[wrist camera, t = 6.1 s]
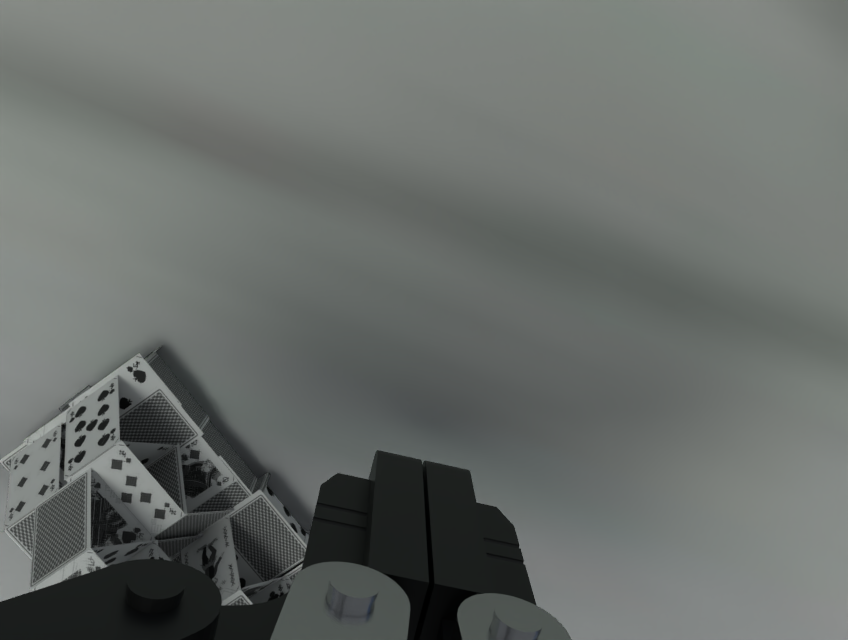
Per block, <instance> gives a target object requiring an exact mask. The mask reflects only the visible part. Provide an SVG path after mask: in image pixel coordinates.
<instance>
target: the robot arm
mask: <svg viewBox="0 0 848 640" xmlns="http://www.w3.org/2000/svg"><path fill="white" fill-rule="evenodd" d="M523 562H524V560H523V556H522V553H521V549H519V542H518V539H517V535H516V532H515V528H514V526H513V525H512V523H511V522H510V521H509V520H508V519H507V518H506V517H505V516H504V515H503V514H502V513H501V511H500V510H499V509H498V508H497V507H494V506H489V505H484V504H480V503H476V499H475V494H474V489H473V484H472V479H471V474H470V471H469V470H466V469H461V468H457V467H452V466H448V465H443V464H439V463H434V462H429V461H424V462H423V464H422V460H420V459H415V458H411V457H406V456H401V455H397V454H392V453H388V452H383V451H379V450H377V451H376V454H375V457H374V460H373V464H372V468H371V472H370V476H369V480H368V479H363V478H358V477H354V476H349V475H344V474H340V473H337V474H336V475H334V476H333V477H332V478H330V479H329V480H327V481H326V482H325V483H323V484H322V485H321V487H320V492H319V496H318V500H317V505H316V509H315V513H314V517H313V522H312V526H311V530H310V534H309V539H308V543H307V547H306V552H305V556H304V560H303V564H302V569H301V571H300V572H299V573H298V574H297V575H296V577H295V578H294V580H293V582H292V585H291V587H290V590H289V592H287V593H286V594H284V595H282V596H281V597H278V598H276V599H273V600H270V601H267V602H263V603H258V604H251V605H221V604H222V598H221V593H220V591H219V588H218V587H217V586H216V584H215V583H214V582H213V581H212V580H211V579H210V578H209V577H208V576H207V575H205V574H204V573H202V572H201V571H199V570H197V569H195V568H193V567H191V566H188V565H185V564H182V563H178V562H174V561H169V560H161V559H138V560H131V561H125V562H121V563H118V564H114V565H111V566H108V567H105V568H102V569H99V570H96V571H93V572H90V573H87V574H84V575H81V576H78V577H75V578H72V579H69V580H66V581H63V582H60V583H57V584H54V585H51V586H48V587H45V588H41V589H38V590H35V591H32V592H29V593H26V594H23V595H20V596H17V597H14V598H11V599H8V600H5V601H2V602H0V640H571V637H570V636H569V634H568V632H567V630H566V629H565V628H564V627H563V625H562V624H561V623H560V622H559V621H558V620H557V619H556V618H554V617H553V616H552V615H551V614H549V613H548V612H546V611H545V610H543V609H542V608H540V607H538V606H536V602H535V599H534V595H533V592H532V588H531V585H530V581H529V577H528V574H527V570H526V567H525V565H524V564H523Z"/></svg>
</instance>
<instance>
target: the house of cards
mask: <svg viewBox="0 0 848 640" xmlns="http://www.w3.org/2000/svg"><path fill="white" fill-rule="evenodd" d="M159 348H160V347H159ZM159 348H158V349H159ZM158 349H157V350H158ZM157 350H155V351H154V352H152V353H151V354H150V355H148V356H147V357H145V358H143V357H142V356H141V355H140V353H138V354H137V355H136V356H134V357H133V358H131V359H130V360H129V361H127V362H126V363H124V364H123V365H122V366H120V367H119V368H118V369H116V370H115V371H113V372H112V373H111V374H109V375H108V376H106V377H105V378H104V379H102V380H101V381H99V382H98V383H97V384H95V385H94V386H92V387H91V388H90V387H89V386H87V387H86V388H85V389H83V390H82V391H81V392H80V393H77V394H76V395H75V396H74V397H73V398H71V399H70V400H69V401H68V402H66V403H65V404H64V405H63V406H61V407H60V408H59V409H60V410H61V411H62V413H61V414H59V415H58V416H56V417H55V418H54V419H52V420H51V421H49V422H48V423H47V424H45V425H44V426H42V427H41V428H40V429H38V430H37V431H35V432H34V433H33V434H31V435H30V436H29V437H27V438H26V439H24V440H23V441H24V443H23V444H22V445H20V446H19V447H17V448H16V449H15V450H13V451H12V452H10V453H9V454H8V455H6V456H5V457H4V458H2V459H1V460H0V463H1V464H2V465H3V466H4V467H5V468H6V469H7V470H8V471H9V472H10V477H9V486H8V496H7V505H6V514H5V524H4V530H3V531H1V532H5V533H6V534H7V535H8V536H9V537H10V538H11V539H12V540H13V541H14V542H15V543H16V544H17V546H18V547H19V548H20V549H21V550H22V551H23V552H24V553H25V554H26V555H27V556H28V557H29V558H30V559H31V561H32V564H31V578H30V591H31V592H32V591H35V590H38V589H41V588H45V587H48V586H51V585H54V584H57V583H60V582H63V581H66V580H69V579H72V578H75V577H78V576H81V575H84V574H87V573H90V572H93V571H96V570H99V569H102V568H105V567H108V566H111V565H114V564H118V563H121V562H125V561H131V560H138V559H161V560H169V561H174V562H178V563H182V564H185V565H188V566H191V567H193V568H195V569H197V570H199V571H201V572H202V573H204V574H205V575H207V576H208V577H209V578H210V579H211V580H212V581H213V582H214V583H215V584H216V586H217V587H218V588H219V591H220V593H221V598H222V604H221V605H251V604H258V603H263V602H267V601H270V600H273V599H276V598H278V597H281V596H282V595H284V594H286V593H287V592H289V590H290V587H291V585H292V582H293V580H294V578H295V577H296V575H297V574H298V573H299V572H300V571H301V569H302V564H303V560H304V556H305V552H306V547H307V543H308V539H309V535H308V534H307V533H306V532H305V531H304V530H303V529H302V528H301V526H300V525H299V524H298V523H297V521H296V520H295V519H294V518H293V517H292V515H291V514H290V513H289V512H288V510H287V509H286V508H285V507H284V506H283V504H282V503H281V502H280V501H279V500H278V498H277V497H276V496H275V495H274V493H273V492H272V491H271V490H270V489H269V487H268V486H267V482H268V479H269V477H270V474H269V475H268V473H269V472H268V473H266V474H265V475H263V476H262V477H260V478H259V479H257V477H256V476H255V475H254V474H253V473H252V471H251V470H250V469H249V468H248V466H247V465H246V464H245V463H244V462H243V460H242V459H241V458H240V457H239V456H238V454H237V453H236V452H235V451H234V449H233V448H232V447H231V446H230V445H229V443H228V442H227V441H226V440H225V439H224V437H223V436H222V435H221V434H220V432H219V431H218V430H217V429H216V428H215V426H214V425H213V424H212V423H211V422H210V420H209V419H210V418H209V416H208V415H207V414H206V413H205V411H204V410H203V409H202V408H201V407H200V405H199V404H198V403H197V402H196V401H195V399H194V398H193V397H192V396H191V394H190V393H189V392H188V391H187V390H186V388H185V387H184V386H183V385H182V383H181V382H180V381H179V380H178V379H177V377H176V376H175V375H174V374H173V373H172V371H171V370H170V369H169V368H168V366H167V365H166V364H165V363H164V362H163V360H162V359H161V358H160V357H159V355H158V354H157V353H156V351H157ZM4 467H3V468H4Z"/></svg>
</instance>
